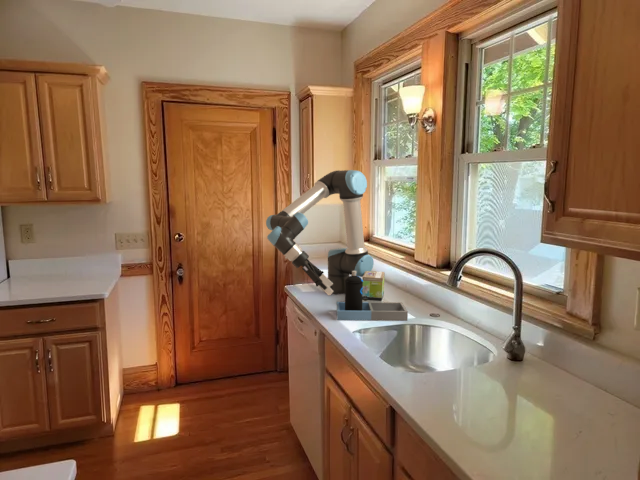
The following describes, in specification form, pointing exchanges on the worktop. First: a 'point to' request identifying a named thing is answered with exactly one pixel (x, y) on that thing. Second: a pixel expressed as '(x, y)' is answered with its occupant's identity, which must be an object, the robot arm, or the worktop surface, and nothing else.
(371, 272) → the tea box
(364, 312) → the tray
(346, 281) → the black bottle
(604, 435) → the worktop surface
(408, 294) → the worktop surface
